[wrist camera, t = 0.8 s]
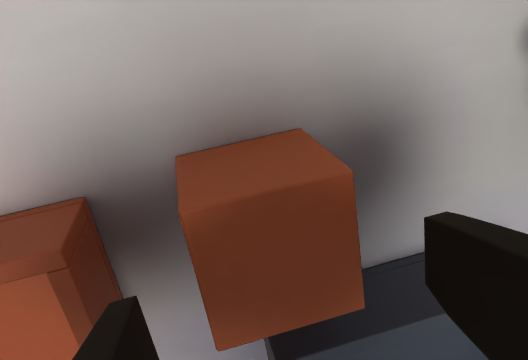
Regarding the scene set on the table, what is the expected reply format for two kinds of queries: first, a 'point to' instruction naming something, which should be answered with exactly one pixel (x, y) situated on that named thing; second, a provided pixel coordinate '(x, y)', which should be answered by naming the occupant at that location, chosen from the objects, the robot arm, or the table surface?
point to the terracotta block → (270, 235)
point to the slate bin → (382, 324)
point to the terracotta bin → (51, 281)
